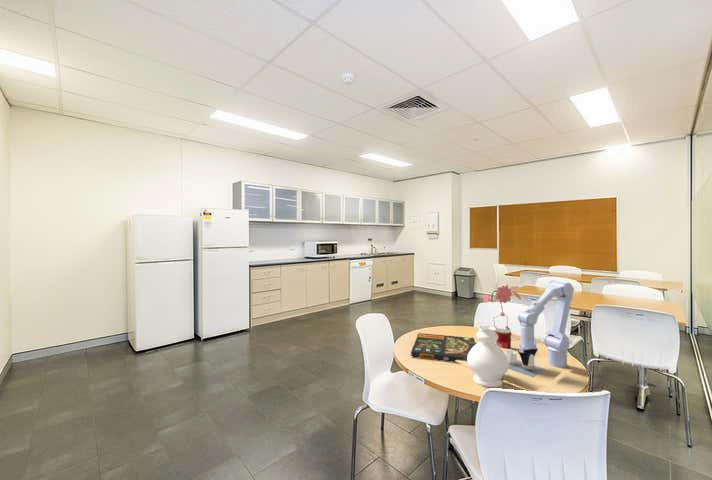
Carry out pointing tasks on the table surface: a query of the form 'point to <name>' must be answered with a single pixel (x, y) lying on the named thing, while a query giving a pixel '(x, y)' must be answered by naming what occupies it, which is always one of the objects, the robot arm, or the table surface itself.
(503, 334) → the canned food
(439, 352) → the pizza box
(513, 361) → the seated sleeve
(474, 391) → the table surface
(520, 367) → the pin board
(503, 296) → the potted flower
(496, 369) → the decorative vase
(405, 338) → the table surface
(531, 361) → the sleeve
